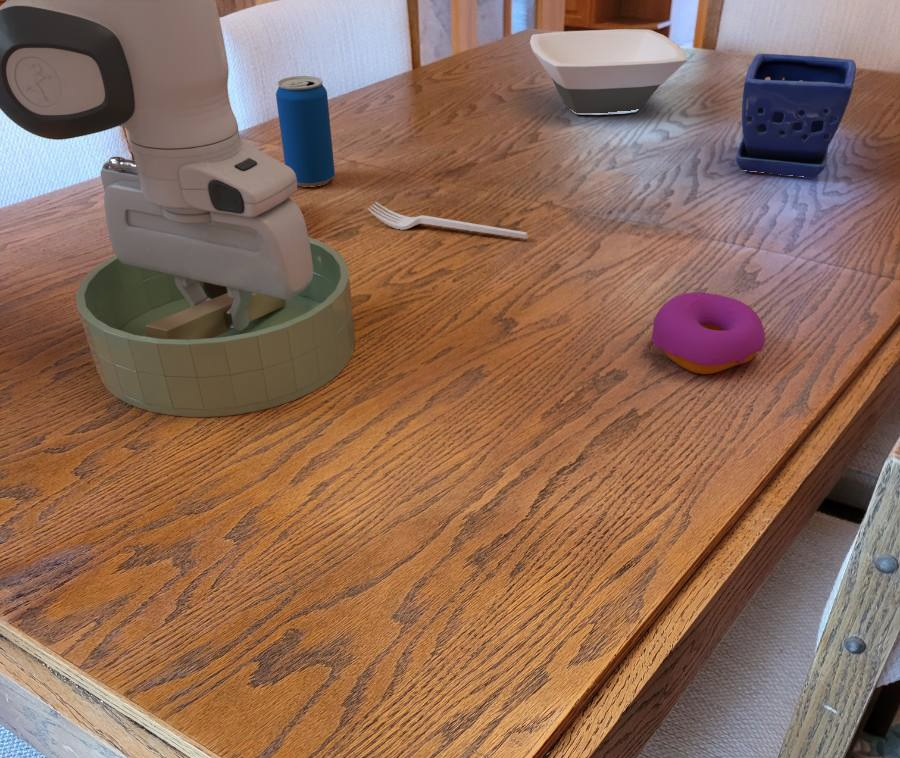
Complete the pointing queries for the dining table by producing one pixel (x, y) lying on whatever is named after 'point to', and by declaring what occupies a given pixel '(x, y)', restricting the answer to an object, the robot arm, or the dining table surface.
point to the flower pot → (792, 112)
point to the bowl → (607, 66)
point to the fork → (437, 223)
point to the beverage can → (306, 129)
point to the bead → (214, 290)
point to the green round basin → (215, 342)
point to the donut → (707, 332)
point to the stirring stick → (208, 318)
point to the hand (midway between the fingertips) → (222, 323)
